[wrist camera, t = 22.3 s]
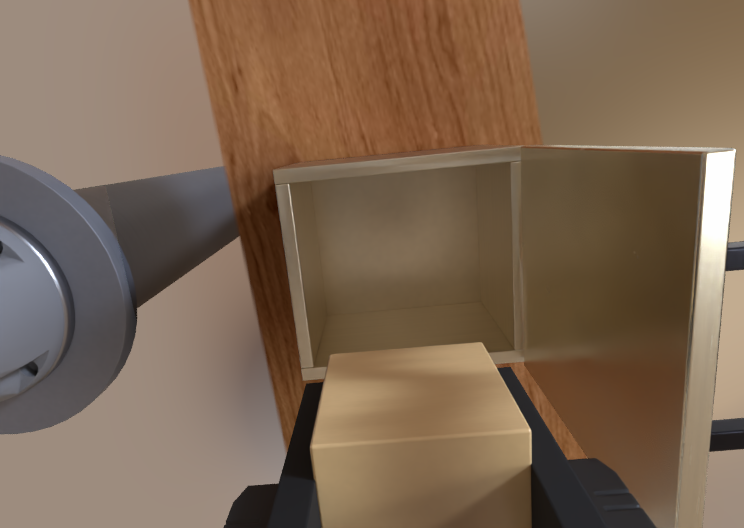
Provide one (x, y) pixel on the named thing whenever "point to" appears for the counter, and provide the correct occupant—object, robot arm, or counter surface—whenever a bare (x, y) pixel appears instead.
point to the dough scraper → (632, 309)
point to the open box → (404, 252)
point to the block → (420, 442)
